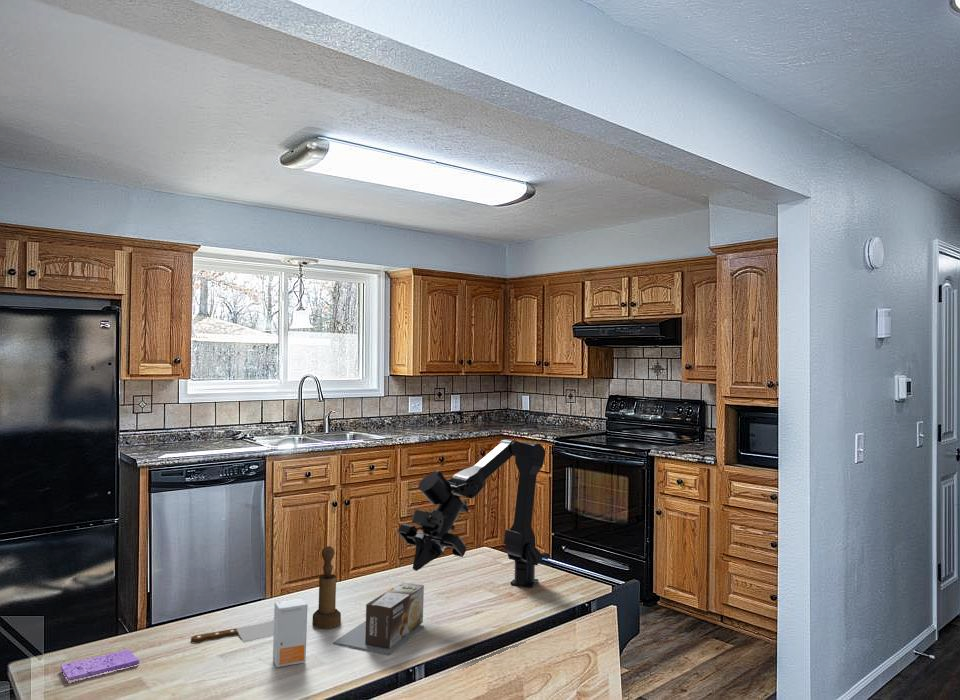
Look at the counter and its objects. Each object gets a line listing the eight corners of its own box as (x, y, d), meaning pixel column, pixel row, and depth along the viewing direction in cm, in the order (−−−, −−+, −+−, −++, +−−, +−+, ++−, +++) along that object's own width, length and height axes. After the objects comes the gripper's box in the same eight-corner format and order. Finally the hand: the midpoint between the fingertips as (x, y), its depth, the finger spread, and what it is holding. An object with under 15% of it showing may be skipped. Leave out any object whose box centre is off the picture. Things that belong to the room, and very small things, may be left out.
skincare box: (276, 668, 136) (277, 608, 136) (272, 660, 140) (273, 601, 140) (306, 662, 139) (308, 604, 139) (302, 654, 143) (303, 597, 143)
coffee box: (400, 581, 162) (365, 602, 147) (424, 584, 160) (391, 606, 145) (399, 620, 162) (364, 644, 147) (423, 624, 160) (390, 649, 145)
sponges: (60, 674, 133) (60, 664, 133) (130, 656, 142) (130, 647, 142) (67, 687, 128) (67, 677, 128) (139, 668, 136) (139, 658, 136)
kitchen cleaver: (196, 651, 142) (189, 632, 151) (196, 656, 143) (188, 636, 151) (310, 630, 155) (297, 613, 164) (309, 634, 155) (297, 618, 164)
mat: (372, 618, 164) (372, 616, 164) (424, 627, 158) (424, 625, 158) (332, 643, 148) (333, 641, 148) (388, 655, 143) (388, 653, 143)
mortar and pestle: (346, 621, 161) (347, 545, 162) (329, 631, 155) (331, 552, 156) (323, 616, 164) (325, 542, 164) (306, 625, 158) (308, 548, 159)
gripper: (403, 492, 173) (370, 544, 164) (459, 501, 162) (428, 558, 153) (423, 517, 180) (393, 569, 171) (479, 528, 168) (449, 584, 159)
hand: (414, 569), depth 163 cm, fingers closed
